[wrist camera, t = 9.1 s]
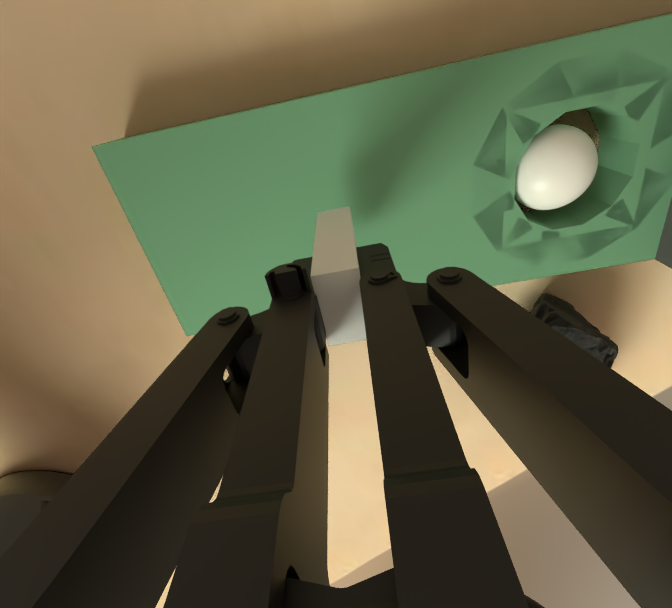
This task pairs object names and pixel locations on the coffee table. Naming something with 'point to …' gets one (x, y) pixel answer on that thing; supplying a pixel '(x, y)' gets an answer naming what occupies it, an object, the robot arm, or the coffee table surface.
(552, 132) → the ball
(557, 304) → the mineral
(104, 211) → the coffee table surface
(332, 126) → the green
